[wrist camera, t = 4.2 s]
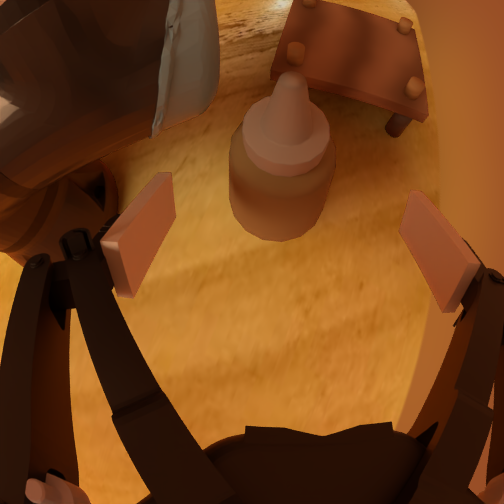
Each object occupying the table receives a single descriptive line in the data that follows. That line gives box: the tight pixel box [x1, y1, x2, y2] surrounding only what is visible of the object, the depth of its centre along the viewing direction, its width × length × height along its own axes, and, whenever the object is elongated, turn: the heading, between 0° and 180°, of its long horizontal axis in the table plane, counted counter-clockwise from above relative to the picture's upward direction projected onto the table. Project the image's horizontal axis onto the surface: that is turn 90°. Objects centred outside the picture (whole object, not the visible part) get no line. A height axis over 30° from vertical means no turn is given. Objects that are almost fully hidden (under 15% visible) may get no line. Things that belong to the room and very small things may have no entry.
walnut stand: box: [270, 0, 429, 138], centre depth 27 cm, size 16×16×8 cm
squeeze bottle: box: [229, 71, 336, 242], centre depth 20 cm, size 8×8×18 cm
